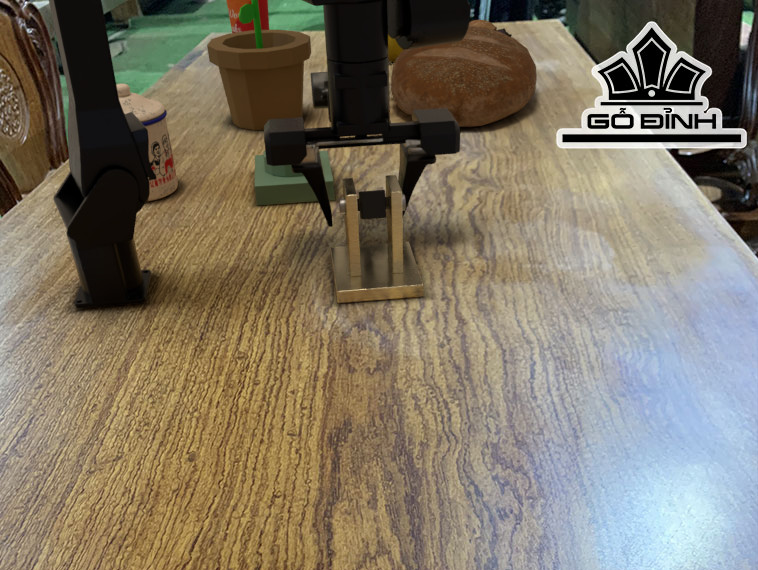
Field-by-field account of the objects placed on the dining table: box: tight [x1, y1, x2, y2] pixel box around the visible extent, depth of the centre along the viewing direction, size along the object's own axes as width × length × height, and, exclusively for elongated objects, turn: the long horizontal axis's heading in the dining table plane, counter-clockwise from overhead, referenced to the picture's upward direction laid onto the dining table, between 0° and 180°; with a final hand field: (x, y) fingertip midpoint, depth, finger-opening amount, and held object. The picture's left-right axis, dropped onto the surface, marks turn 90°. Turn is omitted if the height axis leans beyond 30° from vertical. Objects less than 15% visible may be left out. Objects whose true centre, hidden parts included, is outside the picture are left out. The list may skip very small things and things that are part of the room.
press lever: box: [357, 189, 387, 221], centre depth 80 cm, size 12×4×2 cm, turn 7°
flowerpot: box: [206, 0, 312, 131], centre depth 111 cm, size 14×14×30 cm
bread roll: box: [469, 19, 513, 37], centre depth 153 cm, size 11×8×4 cm
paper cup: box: [225, 0, 270, 33], centre depth 140 cm, size 8×8×14 cm
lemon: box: [388, 35, 404, 63], centre depth 142 cm, size 6×6×8 cm
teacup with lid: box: [116, 83, 179, 202], centre depth 97 cm, size 12×9×12 cm
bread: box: [390, 26, 538, 128], centre depth 125 cm, size 22×37×8 cm, turn 175°
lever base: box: [329, 174, 424, 304], centre depth 77 cm, size 10×8×9 cm
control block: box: [254, 150, 335, 206], centre depth 98 cm, size 11×9×4 cm
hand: (364, 223), depth 86 cm, fingers open, 7 cm apart
